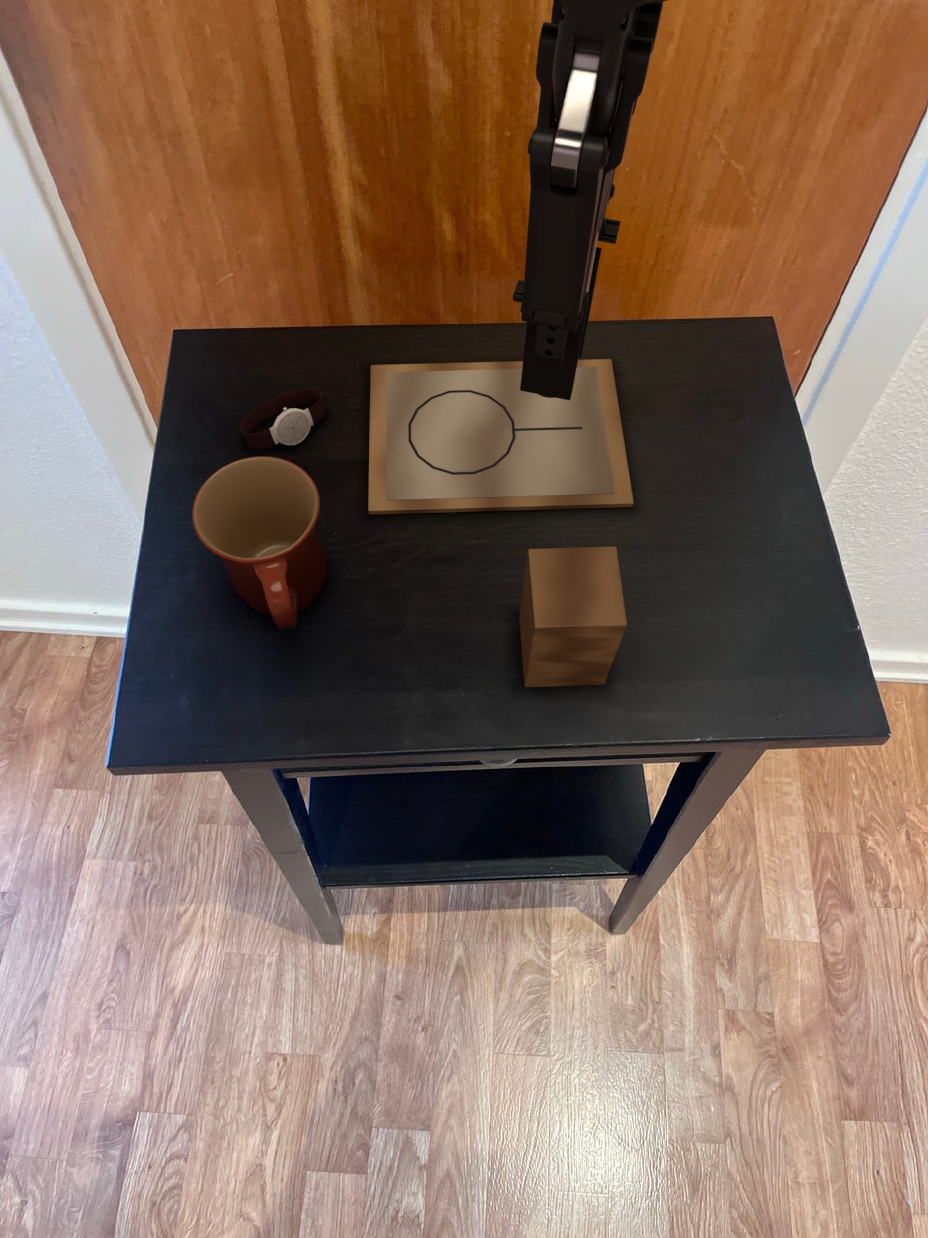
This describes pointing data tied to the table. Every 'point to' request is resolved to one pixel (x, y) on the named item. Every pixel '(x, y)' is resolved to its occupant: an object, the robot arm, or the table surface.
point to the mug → (265, 533)
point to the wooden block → (571, 616)
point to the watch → (284, 418)
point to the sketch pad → (493, 440)
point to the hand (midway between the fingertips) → (552, 368)
